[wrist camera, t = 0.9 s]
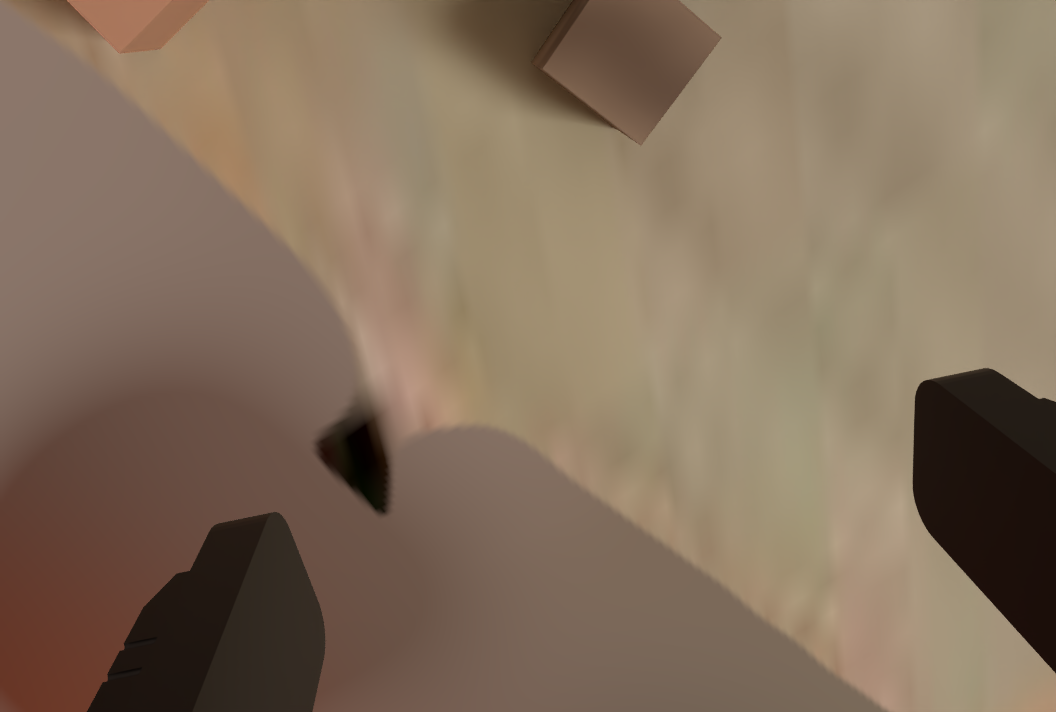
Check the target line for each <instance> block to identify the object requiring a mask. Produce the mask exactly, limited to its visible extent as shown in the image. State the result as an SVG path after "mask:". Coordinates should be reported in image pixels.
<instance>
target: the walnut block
mask: <svg viewBox="0 0 1056 712" xmlns="http://www.w3.org/2000/svg"><path fill="white" fill-rule="evenodd" d="M721 38H722V37H720V36H719V35H718V34H717V33H716V32H715V31H713V30H712V29H711V28H710V27H709V26H708V25H707V24H705V23H704V22H703V21H702V20H701V19H700V18H699V17H697V16H696V15H695V14H694V13H693V12H692V11H690V10H689V9H688V8H687V7H686V6H685V5H684V4H682V3H681V2H680V1H679V0H573V1H572V3H571V4H570V6H569V7H568V9H567V10H566V12H565V13H564V15H563V16H562V18H561V19H560V21H559V22H558V23H557V25H556V26H555V28H554V29H553V31H552V32H551V34H550V35H549V37H548V38H547V40H546V41H545V43H544V44H543V46H542V47H541V49H540V50H539V52H538V53H537V55H536V56H535V58H534V59H533V61H532V62H531V63H532V64H534V65H535V66H536V67H537V68H539V69H540V70H541V71H543V72H544V73H545V74H547V75H548V76H549V77H550V78H552V79H553V80H554V81H556V82H557V83H558V84H559V85H561V86H562V87H563V88H565V89H566V90H567V91H568V92H570V93H571V94H572V95H574V96H575V97H576V98H577V99H579V100H580V101H581V102H583V103H584V104H585V105H586V106H588V107H589V108H590V109H592V110H593V111H594V112H595V113H597V114H598V115H599V116H601V117H602V118H603V119H605V120H606V121H607V122H608V123H610V124H611V125H612V126H614V127H615V128H616V129H617V130H619V131H620V132H622V133H623V134H625V135H626V136H627V137H629V138H630V139H632V140H633V141H635V142H636V143H638V144H639V145H642V144H643V142H644V141H645V140H646V138H647V137H648V136H649V134H650V133H651V132H652V130H653V129H654V128H655V126H656V125H657V124H658V122H659V121H660V120H661V118H662V117H663V116H664V114H665V113H666V112H667V110H668V109H669V108H670V106H671V105H672V104H673V102H674V101H675V100H676V98H677V97H678V96H679V94H680V93H681V92H682V90H683V89H684V88H685V86H686V85H687V84H688V82H689V81H690V80H691V78H692V77H693V76H694V74H695V73H696V72H697V70H698V69H699V68H700V66H701V65H702V63H703V62H704V61H705V59H706V58H707V57H708V55H709V54H710V53H711V51H712V50H713V49H714V47H715V46H716V45H717V43H718V42H719V41H720V39H721Z"/></svg>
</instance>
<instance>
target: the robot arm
mask: <svg viewBox="0 0 1056 712" xmlns="http://www.w3.org/2000/svg"><path fill="white" fill-rule="evenodd" d="M913 493H914V499H915V503H916V506H917V510H918V512H919V515H920V517H921V519H922V522H923V523H924V525H925V527H926V529H927V530H928V532H929V533H930V534H931V536H932V537H933V538H934V539H935V540H936V541H937V542H938V544H939V545H940V546H941V547H942V548H943V549H944V550H945V551H946V552H947V553H948V555H949V556H950V557H951V558H952V559H953V560H954V561H955V562H956V563H957V565H958V566H959V567H960V568H961V569H962V570H963V571H964V572H965V573H966V575H967V576H968V577H969V578H970V579H971V580H972V581H973V582H974V583H975V584H976V586H977V587H978V588H979V589H980V590H981V591H982V592H983V593H984V594H985V596H986V597H987V598H988V599H989V600H990V601H991V602H992V603H993V604H994V605H995V607H996V608H997V609H998V610H999V611H1000V612H1001V613H1002V614H1003V615H1004V617H1005V618H1006V619H1007V620H1008V621H1009V622H1010V623H1011V624H1012V625H1013V626H1014V628H1015V629H1016V630H1017V631H1018V632H1019V633H1020V634H1021V635H1022V636H1023V638H1024V639H1025V640H1026V641H1027V642H1028V643H1029V644H1030V645H1031V646H1032V647H1033V649H1034V650H1035V651H1036V652H1037V653H1038V654H1039V655H1040V656H1041V657H1042V659H1043V660H1044V661H1045V662H1046V663H1047V664H1048V665H1049V666H1050V667H1051V668H1052V670H1053V671H1054V672H1055V673H1056V402H1054V401H1051V400H1048V399H1046V398H1042V399H1038V398H1036V397H1035V396H1033V395H1032V394H1030V393H1029V392H1027V391H1026V390H1024V389H1023V388H1021V387H1020V386H1018V385H1017V384H1015V383H1014V382H1012V381H1011V380H1009V379H1007V378H1006V377H1004V376H1003V375H1001V374H1000V373H998V372H997V371H995V370H993V369H989V368H983V369H979V370H974V371H969V372H964V373H959V374H954V375H949V376H944V377H940V378H935V379H930V380H926V381H923V382H922V383H921V384H920V385H919V387H918V389H917V391H916V396H915V416H914V454H913ZM124 646H125V649H124V650H122V651H120V652H119V653H118V655H117V657H116V659H115V661H114V663H113V665H112V666H111V668H110V670H109V672H108V681H107V682H103V683H102V685H101V687H100V689H99V690H98V692H97V694H96V696H95V698H94V700H93V701H92V703H91V705H90V707H89V709H88V711H87V712H312V710H313V706H314V701H315V697H316V692H317V688H318V683H319V678H320V674H321V669H322V665H323V660H324V654H325V629H324V621H323V616H322V612H321V608H320V605H319V602H318V600H317V597H316V595H315V592H314V590H313V587H312V585H311V582H310V579H309V577H308V574H307V572H306V569H305V567H304V564H303V562H302V559H301V557H300V554H299V551H298V549H297V546H296V544H295V541H294V539H293V536H292V534H291V531H290V529H289V527H288V524H287V522H286V521H285V519H284V518H283V516H282V515H280V514H279V513H277V512H273V513H268V514H263V515H258V516H253V517H248V518H243V519H238V520H234V521H229V522H224V523H219V524H216V525H214V526H213V527H212V528H211V530H210V532H209V533H208V535H207V537H206V540H205V541H204V544H203V546H202V548H201V550H200V552H199V554H198V556H197V558H196V560H195V562H194V564H193V566H192V568H191V570H190V571H187V572H182V573H178V574H176V575H175V576H174V577H173V578H172V579H171V580H170V581H169V582H168V583H167V584H166V585H165V586H164V587H163V588H162V589H161V590H160V591H159V592H158V593H157V594H156V595H155V596H154V597H153V598H152V599H151V600H150V601H149V602H148V603H147V604H146V606H144V607H143V609H142V611H141V613H140V615H139V617H138V618H137V620H136V622H135V624H134V626H133V628H132V629H131V631H130V633H129V635H128V637H127V639H126V641H125V643H124Z"/></svg>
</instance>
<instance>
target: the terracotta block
mask: <svg viewBox="0 0 1056 712" xmlns="http://www.w3.org/2000/svg"><path fill="white" fill-rule="evenodd" d="M67 1H68V2H69V3H70V4H71V5H72V6H73V7H74V8H75V9H76V10H77V11H78V12H79V13H80V14H81V15H82V16H83V17H84V18H85V19H86V20H87V21H88V22H89V23H90V24H91V25H92V26H93V27H94V28H95V29H96V30H97V31H98V32H99V33H100V34H101V35H102V37H103V38H104V39H105V40H106V41H107V42H108V43H109V44H110V45H111V46H112V47H113V48H114V49H115V50H116V51H117V52H118V53H119V54H121V53H130V52H139V51H148V50H157V49H161V48H162V47H163V46H164V45H165V44H166V43H167V42H168V41H169V40H170V39H171V38H172V37H173V36H174V35H175V34H176V33H177V32H178V31H179V30H180V29H181V28H182V27H183V26H184V25H185V24H186V23H187V22H188V21H189V20H190V19H191V18H192V17H193V16H194V15H195V14H196V13H197V12H198V11H199V10H200V9H201V8H202V7H203V6H204V5H205V4H206V3H207V2H208V1H209V0H67Z"/></svg>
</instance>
